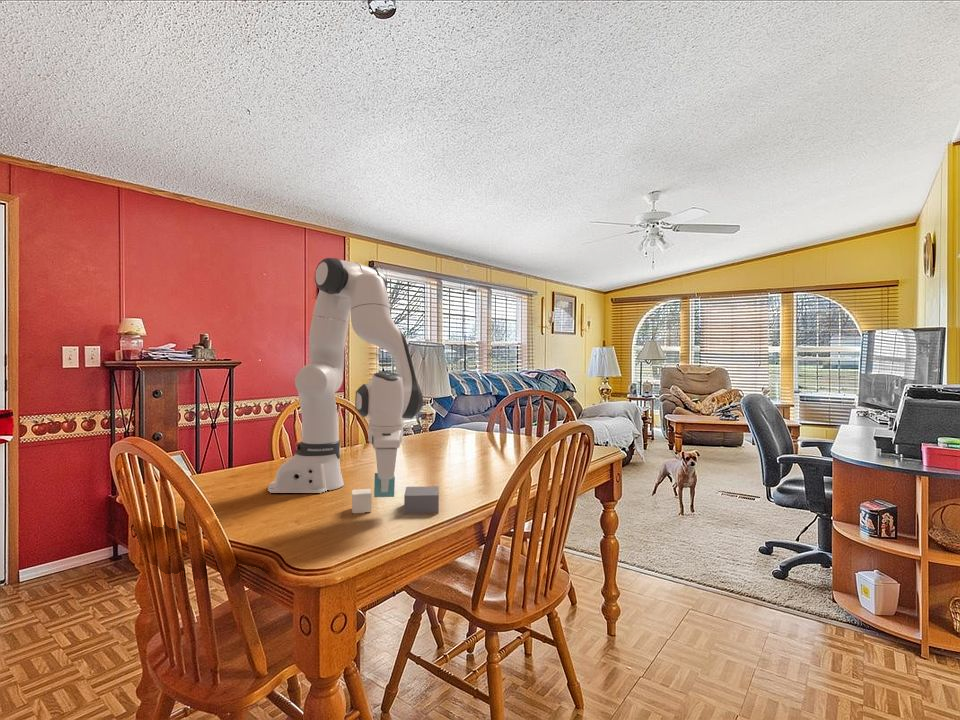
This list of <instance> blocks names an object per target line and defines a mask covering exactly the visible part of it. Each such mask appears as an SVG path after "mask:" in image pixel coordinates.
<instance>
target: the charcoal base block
mask: <svg viewBox="0 0 960 720" xmlns="http://www.w3.org/2000/svg"><path fill="white" fill-rule="evenodd" d="M439 490H440V489H439V486H438V485H437V486H433V485H432V486H427V485H426V486H405V491H404V497H403V498H404V499H403V500H404V502H403V506H404V507H403V508H404V509H403V510H404V511H403V513H404V515H431V514H430V513H439V511H440V509H439V507H440V506H439V505H440V504H439V503H440V502H439V500H440V498H439V497H440V495H439V494H440V492H439Z"/></svg>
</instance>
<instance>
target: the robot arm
mask: <svg viewBox="0 0 960 720" xmlns="http://www.w3.org/2000/svg"><path fill="white" fill-rule="evenodd" d="M386 277H387V276H385V274H384V273H383V272H382V271H381V270H380V269H377V268H376V267H369V266H368V265H365V264H363V263H359V262H353V261H349V260H343V259H339V258H336V257H326V258H323V259H321V261H320V262H319V263H318V264H317V266H316V268H315V271H314V282H315V284H316V287H317V288H318V290H319V292H318V294H317V297H316V301H315V303H314V307H313V312H312V318H311V323H310V329H309V335H308V343H309V363H308V364H306V365H304V366H303V367H301V368H300V369H299V370H298V372H297V374H296V376H295V378H294V385H295V388H296V391H297V395H298V396H297V397H298V401H299V402H298V403H299V406H300V412H301V435H302V436H301V438H302V439H301V441H300V440H297V441H296V442H294V443H295V444H294V447H295V448H294V451H295V452H294V453H295V454H294V455H293V456H291V457H290V458H289V459H287V461H285V462H284V463H283V464H282V465H279V468H278V469H277V472H276V476H275V480H273V481H272V482H270V483H269V485H268V486H267V492H268V491H269V492H270V493H269V492H268V493H269V494H271V493H320V494H322V493H321V492H324V493H326V492H328V491H327V490H329V491H332V490H336V489H340V488H342V487H344V485H345V483H344V479H343V475H342V470H341V464H340V463H341V462H340V461H341V460H340V458H341V454H342V453H341V452H342V451H341V450H342V449H341V448H342V447H341V446H342V445H341V440H340V439H339V438H340V432H339V431H340V428H339V427H340V424H339V423H340V420H339V419H340V416H339V412H338V409H337V408H338V407H337V403H336V393H337V392H338V391H339V390H340V388H341V387H342V385H343V382H344V371H345V370H344V368H345V349H346V348H345V347H346V346H345V345H346V341H347V335H348V334H347V333H348V329H349V323H351V327H352V330H353V331H354V333H355V334H356V335H357V336H358V337H359V338H360V339H361V340H363V341H365V342H367V343H368V344H371V345H373V346H377V347H379V348H381V349H383V350H385V351H386V352H388V353H389V354H390V356H391V357H392V359H393V362H394V366H395V370H396V372H391V371H378V372H375V373H373V374H372V376H371V380H370V381H369V382H367V383H362V385H360V386H359V387H358V389H357V390H356V391H355V397H354V399H355V402H354V403H355V405H354V406H355V407H354V408H355V410H356V412H357V413H358V414H359V415H360V416H361V417H363V418H367V419H369V421H368V434H367V435H368V436H367V437H368V440H367V441H368V443H370V444H371V446H372V448H373V450H374V451H375V460H376V470H377V472H376V473H378V478H379V479H381V492H388V485H389V479H393V476H395V469H396V463H397V455H398V449H400V447H401V444H402V443H403V442H404V420H403V419H409V420H411V419H413V418H415V417H416V416H417V415H418V414H419V413H420V412H421V410H423V407H424V398H423V397H424V396H423V392H422V388H421V387H420V384H419V382H418V379H417V376H416V373H415V368H414V366H413V360H412V357H411V352H410V350H409V345H408V342H407V339H406V337H405V333H404V331H403V330H402V329H401V328H400V327H398V326H397V325H396V323H395V321H394V320H393V318H392V315H391V309H390V307H391V306H390V300H389V295H388V292H387V291H388V290H387V278H386ZM325 491H326V492H325Z"/></svg>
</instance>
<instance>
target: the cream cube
mask: <svg viewBox="0 0 960 720" xmlns="http://www.w3.org/2000/svg"><path fill="white" fill-rule="evenodd" d="M365 512H370V513H372V488H363V489H362V488H359V489H351V514H352V513H354V514H365Z"/></svg>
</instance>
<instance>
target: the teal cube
mask: <svg viewBox="0 0 960 720" xmlns="http://www.w3.org/2000/svg"><path fill="white" fill-rule="evenodd" d="M395 479H396V477H395V475H394V476H393V479H389V485H388V492H381V479H379V478H378V472H374V485H373V487H374V488H373V495H374V496H373V497H374V498H394V497H395V487H396V485H395V483H396V482H395Z"/></svg>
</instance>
